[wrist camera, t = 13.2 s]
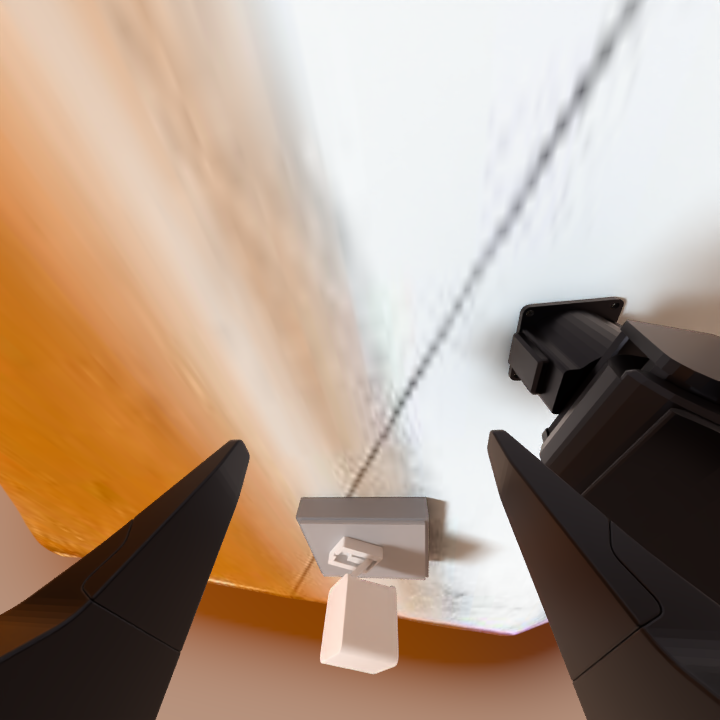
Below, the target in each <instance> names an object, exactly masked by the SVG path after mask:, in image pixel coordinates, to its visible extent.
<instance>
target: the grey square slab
mask: <svg viewBox="0 0 720 720" xmlns="http://www.w3.org/2000/svg"><path fill="white" fill-rule="evenodd" d="M296 519H297V521H298V523H299V525H300V528H301V530H302V532H303V534H304V536H305V538H306V540H307V543H308V545H309V547H310V549H311V551H312V553H313V556H314V558H315V560H316V562H317V564H318V566H319V568H320V571H321V573H322V574H323V576H328V577H343V576H344V575H345V574H351V573H352V572H353V571H352V570H349V569H345V568H341V567H338V566H334V565H330V564H328V560H329V553H330V551H331V550H332V549H333V548H334V547H335V546H336V544H337V543H338V542H339V541H340V540H341V539H342V538H343V537H344V536H346V537H349V538H353V539H356V540H360V541H363V542H366V543H370V544H373V545H376V546H380V547H382V548H383V559H382V560H381V561H380V562H379V563H378V564H377V565H375V566H374V567H373V568H372V569H371V570H370V571H368V572H367V573H366V574H363V573H361V574H360V575H359V576H358V577H357V578H386V579H415V580H425V577H428V566H429V515H428V508H427V500H426V497H382V498H301V500H300V503H299V507H298V511H297V515H296Z"/></svg>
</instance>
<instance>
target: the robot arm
mask: <svg viewBox="0 0 720 720" xmlns="http://www.w3.org/2000/svg"><path fill="white" fill-rule="evenodd" d="M614 303H615V305H614V306H613V307H611V306H612V305H613V304H614ZM623 304H624V302H623V301H622V300H621V299H619V298H617V297H611V298H600V299H588V300H577V301H566V302H555V303H544V304H533V305H526V306H525V307H523V308H522V309H521V312H520V316H519V321H518V327H517V332H516V333H515V334H514V335H513V339H512V344H511V350H510V355H509V360H508V362H509V364H510V368H509V373H508V374H509V377H510V378H511V379H512V380H515V381H518V380H522V382H523V383H524V385H525V386H526V387H527V389H528V390H529V392H531V393H532V394H533V395H537V394H538V395H539V396H540V398H541V399H542V400H543V402H544V403H545V404H546V406H547V407H548V408H549V410H550V411H551V412H552V413H553V414H559V415H558V416H557V418H556V419H555V420H554V422H553V423H552V424H551V426H550V427H549V428H546V429H545V431H544V432H543V433H542V438H543V444H542V447H541V450H540V458H541V461H540V460H539V459H538V458H537V457H536V456H534V455H533V454H532V453H531V452H530V451H528V450H527V449H526V448H525V447H524V446H523V445H521V444H520V443H519V442H518V441H517V440H515V439H514V438H513V437H512V436H511V435H509V434H508V433H507V432H506V431H504V430H491V431H490V434H489V440H488V446H487V449H488V455H489V459H490V462H491V466H492V470H493V473H494V477H495V481H496V484H497V488H498V492H499V495H500V498H501V501H502V504H503V507H504V509H505V512H506V514H507V517H508V519H509V522H510V524H511V527H512V529H513V532H514V535H515V537H516V540H517V542H518V545H519V547H520V550H521V552H522V555H523V557H524V560H525V563H526V565H527V568H528V570H529V573H530V575H531V578H532V580H533V583H534V585H535V588H536V591H537V593H538V596H539V598H540V601H541V603H542V606H543V608H544V611H545V613H546V616H547V619H548V621H549V623H550V626H551V629H552V631H553V634H554V636H555V639H556V641H557V644H558V646H559V649H560V652H561V654H562V657H563V659H564V662H565V664H566V667H567V669H568V672H569V675H570V677H571V679H572V680H573V685H574V688H575V690H576V693H577V695H578V698H579V700H580V703H581V706H582V708H583V711H584V713H585V716H586V718H587V720H720V337H719V336H716V335H712V334H708V333H702V332H696V331H690V330H684V329H678V328H673V327H667V326H661V325H655V324H649V323H643V322H638V321H632V320H626V322H625V323H624V324H623V326H622V325H620V324H619V323H617V320H618V317H619V315H620V312H621V310H622V307H623ZM529 310H531V313H530V314H527V315H526V313H527V312H528V311H529ZM514 374H517V375H514ZM249 458H250V456H249V452H248V450H247V448H246V446H245V444H244V443H243V441H242V440H230V441H228V442H227V443H226V444H225V445H223V446H222V447H221V448H220V449H219V450H217V451H216V452H215V453H214V454H212V455H211V456H210V457H209V458H207V459H206V460H205V461H204V462H202V463H201V464H200V465H199V466H198V467H196V468H195V469H194V470H193V471H191V472H190V473H189V474H188V475H186V476H185V477H184V478H183V479H181V480H180V481H179V482H178V483H176V484H175V485H174V486H173V487H172V488H170V489H169V490H168V491H167V492H165V493H164V494H163V495H162V496H160V497H159V498H158V499H157V500H155V501H154V502H153V503H152V504H151V505H149V506H148V507H147V508H146V509H144V510H143V511H142V512H141V513H139V514H138V515H137V516H136V517H135V518H134V519H132V520H131V521H129V522H128V523H127V524H126V525H124V526H123V527H122V528H121V529H120V530H118V531H117V532H116V533H114V534H113V535H112V536H111V537H109V538H108V539H107V540H106V541H104V542H103V543H102V544H100V545H99V546H98V547H96V548H95V549H94V550H92V551H91V552H90V553H88V554H87V555H86V556H84V557H83V558H82V559H80V560H79V561H78V562H77V563H75V564H74V565H72V566H71V567H69V568H68V569H67V570H65V571H64V572H63V573H61V574H60V575H59V576H58V577H56V578H54V579H53V580H52V581H50V582H49V583H48V584H46V585H45V586H44V587H42V588H41V589H40V590H38V591H37V592H35V593H34V594H33V595H31V596H30V597H28V598H27V599H26V600H24V601H23V602H21V603H20V604H18V605H17V606H15V607H13V608H12V609H10V610H8V611H6V612H5V613H3V614H1V615H0V720H155V719H156V717H157V714H158V712H159V709H160V706H161V704H162V701H163V698H164V695H165V693H166V690H167V688H168V685H169V683H170V680H171V677H172V675H173V672H174V669H175V667H176V664H177V661H178V659H179V656H180V651H181V650H182V648H183V645H184V642H185V640H186V637H187V634H188V632H189V629H190V626H191V624H192V621H193V619H194V616H195V613H196V610H197V608H198V605H199V603H200V600H201V597H202V595H203V592H204V590H205V587H206V584H207V582H208V579H209V576H210V574H211V571H212V568H213V566H214V563H215V560H216V558H217V555H218V552H219V550H220V547H221V545H222V542H223V539H224V537H225V534H226V531H227V529H228V526H229V523H230V521H231V518H232V515H233V513H234V510H235V508H236V505H237V502H238V499H239V496H240V492H241V489H242V485H243V481H244V478H245V474H246V470H247V467H248V463H249Z"/></svg>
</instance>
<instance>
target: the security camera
mask: <svg viewBox="0 0 720 720" xmlns="http://www.w3.org/2000/svg"><path fill="white" fill-rule="evenodd" d="M382 559H383V548H382V547H380V546H376V545H373V544H370V543H366V542H363V541H360V540H356V539H353V538H349V537H346V536H344V537H343V538H342V539H341V540H340V541H339V542H338V543H337V544H336V546H335V547H334V548H333V549H332V550H331V551H330V553H329V560H328V564H330V565H334V566H338V567H341V568H345V569H349V570H352V571H353V572H352V573H351V574H345V575H344V576H343V577H342V578H341V579H340V580H339V581H338V582H337V583H336V584H335V585H334V586H333V587H331V589H330V592H329V596H328V603H327V610H326V617H325V625H324V632H323V640H322V647H321V655H320V661H321V663H324V664H329V665H334V666H338V667H343V668H348V669H352V670H357V671H362V672H367V673H371V674H376V673H378V672H381V671H384V670H386V669H389V668H391V667H394V666H396V664H397V662H398V629H397V627H398V624H397V594H396V588H395V587H394V586H390V587H388V586H384V585H381V584H377V583H373V582H370V581H366V580H362V579H359V578H357V577H358V576H359V575H360V574H361V573H363V574H366V573H367V572H368V571H370V570H371V569H372V568H373V567H374V566H375V565H377V564H378V563H379V562H380V561H381V560H382Z"/></svg>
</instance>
